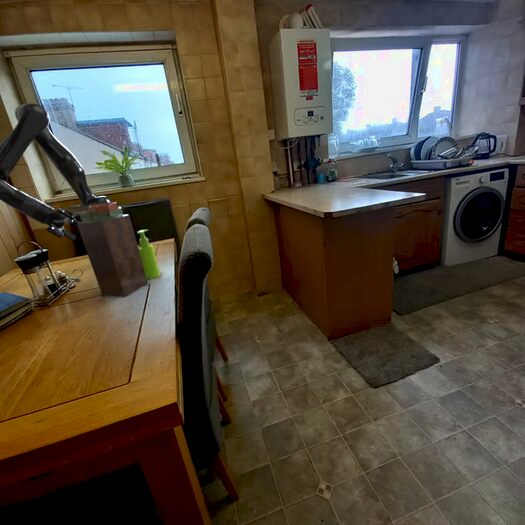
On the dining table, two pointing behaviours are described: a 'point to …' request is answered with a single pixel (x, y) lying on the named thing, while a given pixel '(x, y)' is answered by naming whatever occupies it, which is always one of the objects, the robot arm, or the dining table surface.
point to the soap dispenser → (148, 257)
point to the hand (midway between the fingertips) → (78, 232)
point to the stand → (113, 252)
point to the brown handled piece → (95, 207)
